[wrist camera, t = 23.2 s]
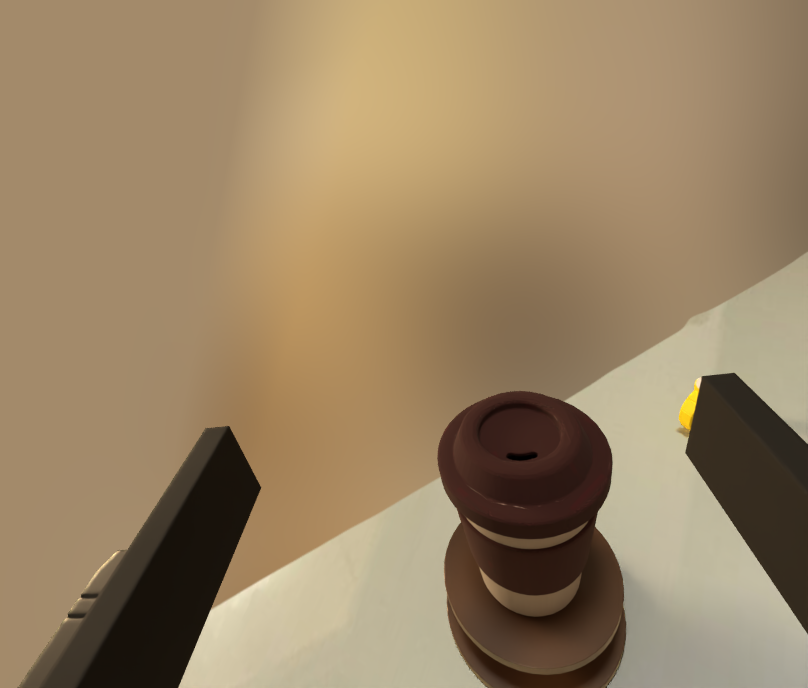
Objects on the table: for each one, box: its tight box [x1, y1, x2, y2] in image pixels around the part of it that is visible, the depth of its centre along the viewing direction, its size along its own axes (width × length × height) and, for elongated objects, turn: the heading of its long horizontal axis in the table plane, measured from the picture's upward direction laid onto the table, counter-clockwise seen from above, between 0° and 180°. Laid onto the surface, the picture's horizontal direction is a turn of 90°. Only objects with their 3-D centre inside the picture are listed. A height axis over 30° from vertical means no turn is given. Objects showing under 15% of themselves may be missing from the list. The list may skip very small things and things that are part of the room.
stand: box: [444, 523, 626, 688], centre depth 34 cm, size 14×14×6 cm
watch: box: [679, 377, 702, 430], centre depth 46 cm, size 6×3×6 cm, turn 111°
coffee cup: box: [438, 391, 612, 617], centre depth 29 cm, size 10×10×15 cm
